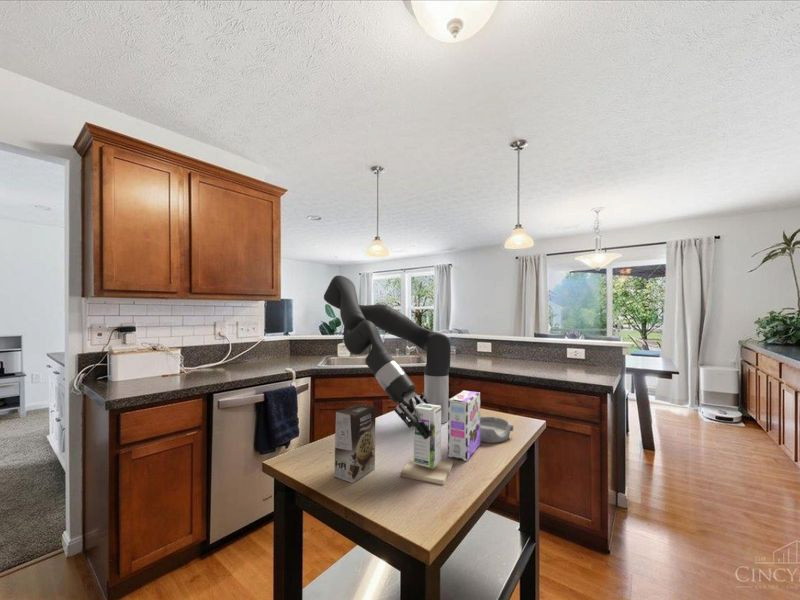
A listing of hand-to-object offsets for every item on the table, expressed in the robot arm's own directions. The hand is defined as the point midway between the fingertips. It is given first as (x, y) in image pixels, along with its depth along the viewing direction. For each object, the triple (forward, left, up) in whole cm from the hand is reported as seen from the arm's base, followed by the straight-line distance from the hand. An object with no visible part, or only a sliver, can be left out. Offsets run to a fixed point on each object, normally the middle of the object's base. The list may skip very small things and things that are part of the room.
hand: (433, 432), depth 86 cm
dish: (-31, +10, -10) cm, 34 cm away
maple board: (0, -2, -10) cm, 10 cm away
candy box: (-16, +5, -10) cm, 20 cm away
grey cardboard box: (+8, -19, -10) cm, 22 cm away
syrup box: (0, -2, -8) cm, 8 cm away
